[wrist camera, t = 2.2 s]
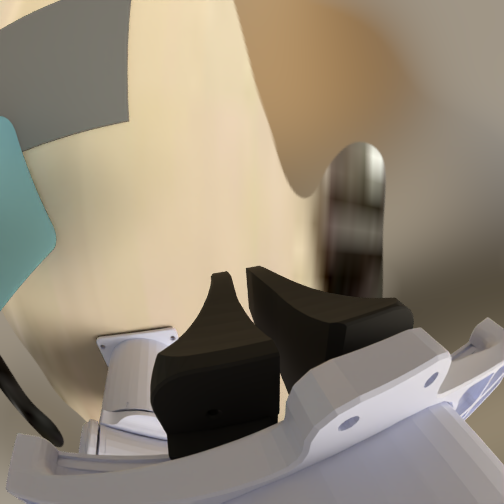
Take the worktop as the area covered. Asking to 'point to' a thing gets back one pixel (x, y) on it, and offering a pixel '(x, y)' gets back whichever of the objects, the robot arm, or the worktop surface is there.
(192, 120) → the worktop surface
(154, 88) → the worktop surface
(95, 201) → the worktop surface
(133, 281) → the worktop surface
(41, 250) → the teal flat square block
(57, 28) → the mat
